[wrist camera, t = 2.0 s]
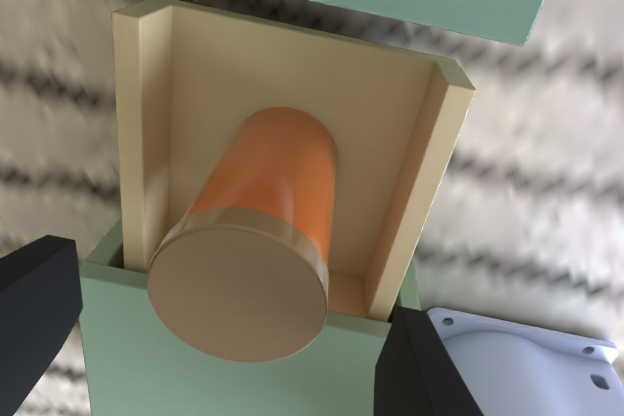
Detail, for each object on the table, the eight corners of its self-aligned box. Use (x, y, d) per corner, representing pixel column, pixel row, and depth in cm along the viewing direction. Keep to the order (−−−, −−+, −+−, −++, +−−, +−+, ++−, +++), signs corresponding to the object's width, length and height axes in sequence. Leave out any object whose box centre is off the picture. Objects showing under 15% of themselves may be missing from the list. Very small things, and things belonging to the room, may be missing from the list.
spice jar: (352, 117, 16) (346, 249, 9) (328, 217, 18) (310, 378, 12) (232, 92, 16) (143, 207, 9) (223, 195, 18) (145, 346, 11)
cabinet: (139, 193, 21) (72, 274, 16) (412, 250, 21) (427, 346, 16) (143, 382, 28) (98, 476, 23) (346, 422, 28) (343, 524, 23)
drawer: (134, -314, 11) (45, -407, 8) (576, -214, 12) (658, -266, 8) (144, 230, 20) (103, 288, 17) (392, 281, 21) (398, 347, 17)
